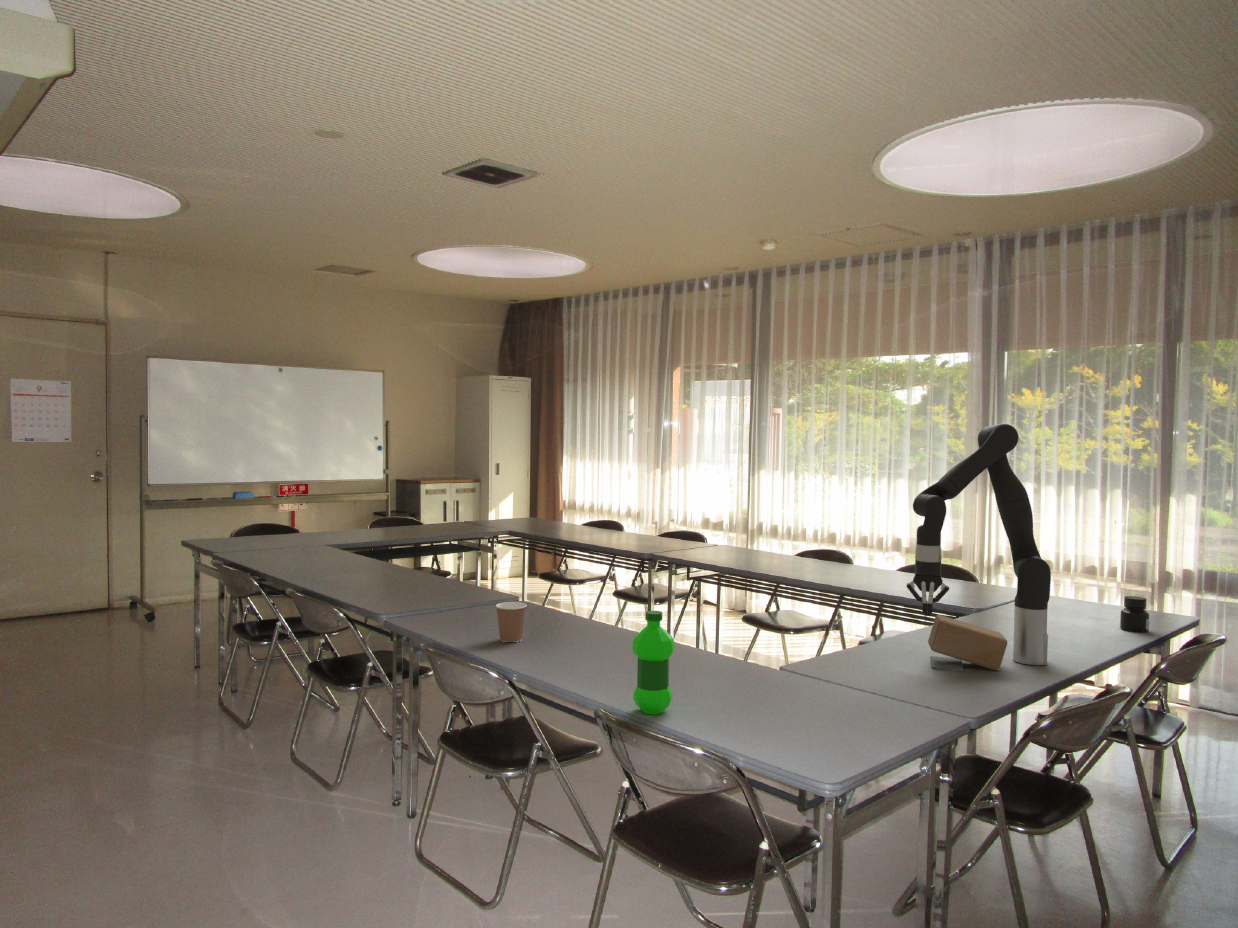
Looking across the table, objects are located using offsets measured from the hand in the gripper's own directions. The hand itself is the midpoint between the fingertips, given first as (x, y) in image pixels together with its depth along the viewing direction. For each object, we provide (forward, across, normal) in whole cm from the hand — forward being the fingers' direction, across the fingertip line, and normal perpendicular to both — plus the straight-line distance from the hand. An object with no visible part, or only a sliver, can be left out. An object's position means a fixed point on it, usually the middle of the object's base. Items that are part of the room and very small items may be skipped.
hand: (927, 614), depth 254 cm
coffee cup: (+14, +131, +25) cm, 134 cm away
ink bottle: (+16, -72, -75) cm, 106 cm away
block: (+5, -2, 0) cm, 5 cm away
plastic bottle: (+15, +66, +74) cm, 100 cm away
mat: (+15, -6, 0) cm, 16 cm away
